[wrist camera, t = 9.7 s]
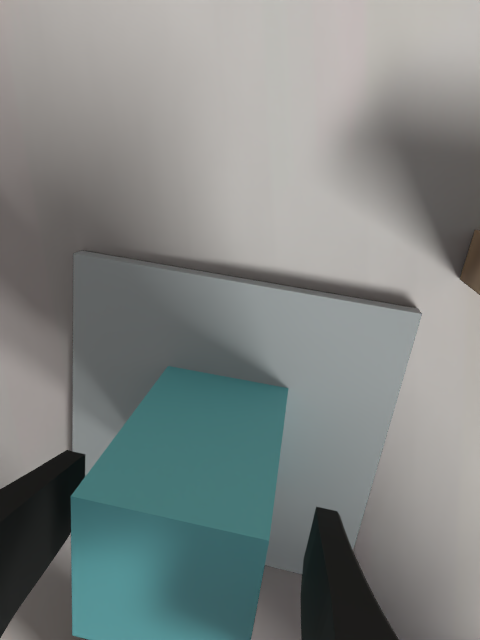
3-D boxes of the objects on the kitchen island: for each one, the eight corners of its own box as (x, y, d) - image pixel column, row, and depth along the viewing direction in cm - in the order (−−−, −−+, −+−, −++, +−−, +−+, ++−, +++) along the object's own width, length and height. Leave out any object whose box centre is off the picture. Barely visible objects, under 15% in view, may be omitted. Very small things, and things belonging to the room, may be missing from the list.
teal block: (270, 488, 18) (243, 679, 11) (160, 465, 18) (72, 635, 11) (288, 388, 16) (269, 540, 9) (167, 365, 16) (70, 495, 10)
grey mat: (342, 572, 19) (343, 584, 18) (78, 509, 20) (72, 518, 20) (418, 308, 15) (421, 314, 14) (81, 250, 16) (73, 253, 16)
